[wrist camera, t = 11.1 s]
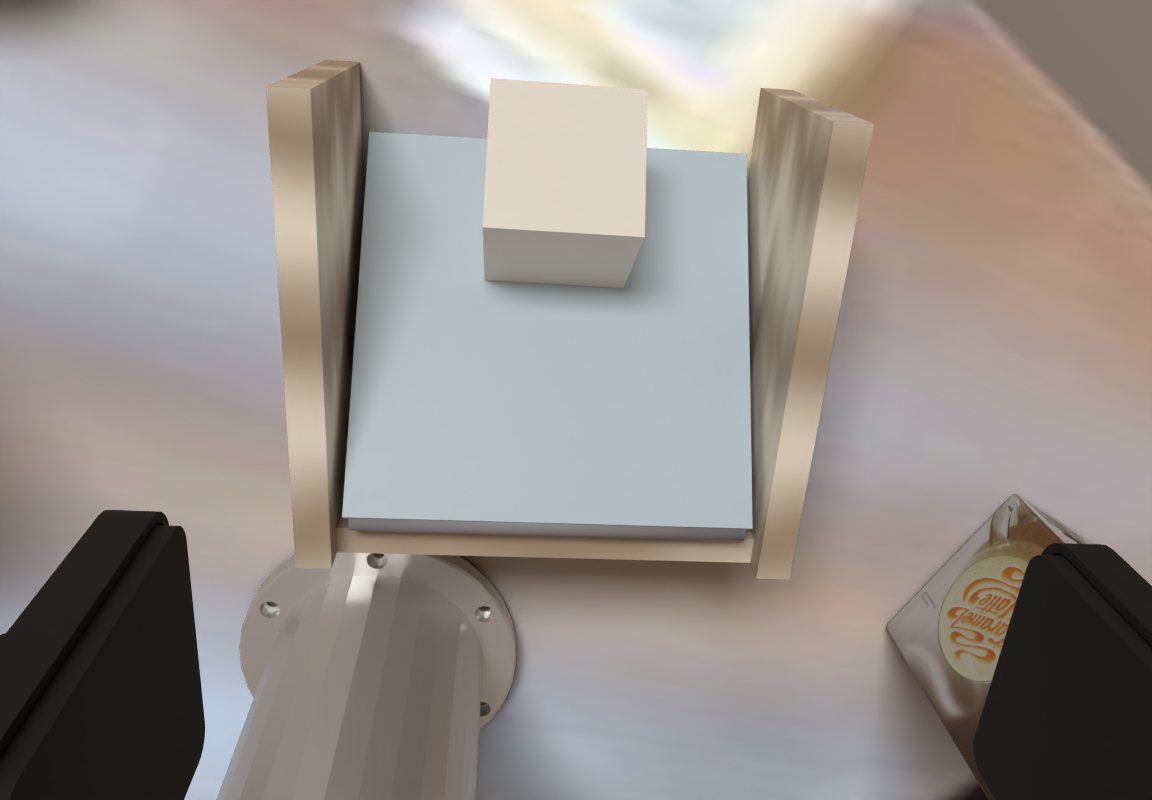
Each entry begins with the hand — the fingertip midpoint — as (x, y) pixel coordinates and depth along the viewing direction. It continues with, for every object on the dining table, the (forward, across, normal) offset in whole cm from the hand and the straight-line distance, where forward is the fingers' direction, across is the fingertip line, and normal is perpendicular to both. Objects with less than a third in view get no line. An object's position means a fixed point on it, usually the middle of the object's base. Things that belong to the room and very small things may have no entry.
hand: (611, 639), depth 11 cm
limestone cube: (+26, 0, +1) cm, 26 cm away
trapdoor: (+24, -1, +5) cm, 25 cm away
